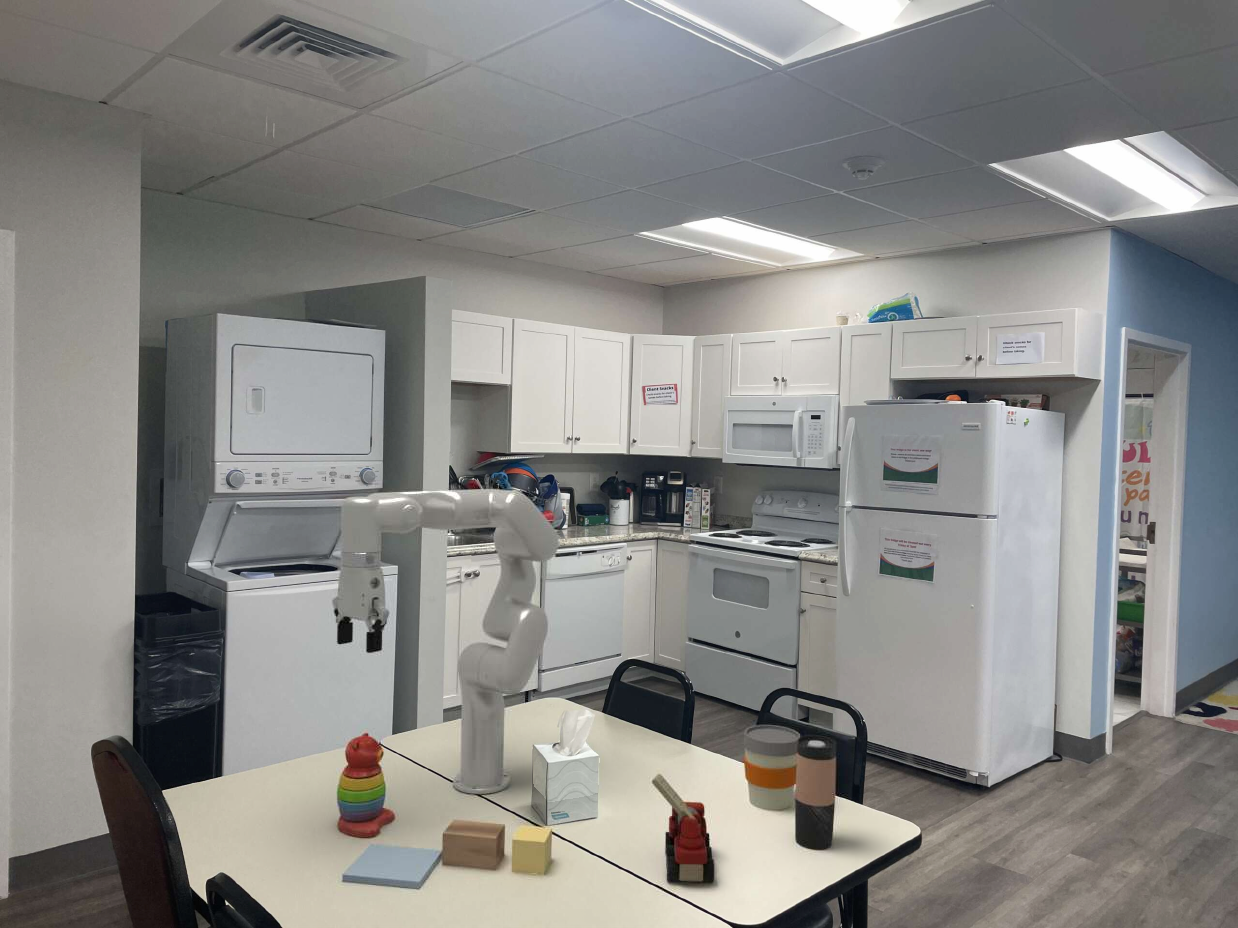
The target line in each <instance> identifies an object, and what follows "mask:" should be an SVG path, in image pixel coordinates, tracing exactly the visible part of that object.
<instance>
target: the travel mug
mask: <svg viewBox="0 0 1238 928" xmlns="http://www.w3.org/2000/svg"><path fill="white" fill-rule="evenodd" d="M836 775H837V742H836V741H835V739H833V738H830V737H827V736H824V735H823V736H822V735H818V734H817V735H815V734H807V735H802V736H800V738H798V742H797V766H796V784H795V792H794V793H795V794H794V797H795V798H794V800H795V802H794V804H795V805H794V809H795V811H794V814H795V815H794V816H795V817H794V819H795V821H794V828H795V829H794V832H795V833H794V835H795V842H796V844H798V845H799V846H800V847H803V848H806V849H809V850H813V851H817V850H818V851H819V850H821V851H823V850H827V849H830V848H831V847H832V845H833V840H834V839H833V837H834V821H835V808H836V807H835V806H836V781H837V780H836V778H837V776H836Z"/></svg>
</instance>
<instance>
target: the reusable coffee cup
mask: <svg viewBox="0 0 1238 928" xmlns="http://www.w3.org/2000/svg"><path fill="white" fill-rule="evenodd" d="M800 737H801V734H800V733H799V732H798V731H796V730H795V729H792V728H790V727H786V726H780V725H774V724H773V725H772V724H758V725H752V726H749V727H747V728H745V730H744V734H743V739H742V740H743V741H742V742H743V743H742V746H743V748H744V753H745V754H744V756H743V764H744V766H743V767H744V774H745V775H744V776H745V777H744V778H745V779H746V781H747V787H748V797H749V803H750V804H751V805H752V806H753V807H756V808H759V809H761V810H767V811H783V810H786V809H789V808H790V807H791V806H792V803H793V802H792V801H793V793H794V788H795V786H796V766H797V742H798V738H800Z"/></svg>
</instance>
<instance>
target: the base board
mask: <svg viewBox="0 0 1238 928" xmlns="http://www.w3.org/2000/svg"><path fill="white" fill-rule="evenodd" d="M441 860H442V849H441V850H440V849H433V848H432V849H430V848H420V847H408V846H399V845H398V846H397V845H389V844H388V845H387V844H377V843H376V844H375V843H370V844H369V845H368V846H367V847H366V848H365V849H364V851H363V852H362V853H361V854H360V855H359V856H358V857H357V858H356V859H355V860H354V861H353V862H352V864H350V866H349V867H348V868H347V869H346V870H345V871H344V872H343V873H342V875H341V876H342V877H341V878H342V879H341V881H342V882H347V883H355V884H356V883H359V884H366V885H367V884H368V885H379V886H385V887H387V886H388V887H396V888H397V887H398V888H408V889H415V890H416V889H418V890H419V889H420V888H421V887H422V885H424V883H425V881H426V880H427V879H428V877H429V876H430V874H431V873H432V872H433V871H434V869H435V868H436V866H437V865H439V863H440V861H441Z"/></svg>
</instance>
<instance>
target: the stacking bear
mask: <svg viewBox="0 0 1238 928" xmlns="http://www.w3.org/2000/svg"><path fill="white" fill-rule="evenodd" d="M344 751H345V752H344V753H345V754H344V755H345V759H346V760H345V761H346V763H347V765H346V766H345V767H344V769H343V771H341V773H340V776H339V780H338V786H337V791H336V803H337V807H338V811H339V815H340V816H339V818H338V821H337V828H338V829H339V830H340V832H342V833H343V834H347V835H349V836H352V837H358V838H362V839H363V838H364V839H365V838H366V839H367V838H373V837H374V838H375V837H376V836H378V835H379V834H380V833H381V830H380V829H381V827H383V826H385V825H387V824H390V823H392V822H393V821H394V820H395V818H396V816H395V812H393V810H391V809H388V808H386V807H385V808H384V804H385V802H386V801H385V799H386V795H387V793H386V791H387V787H386V782H385V777H384V772H383V770H382V769H383V768H382V766H381V764H379V763H380V762H381V761H382V759H383V757H384V754H385V752H384V749H383V747H382V746H381V744H379V742H378V741H377V740H376V738H374V737H373V736H369V732H365V733H363V734H362V735H360V736H357V737H355V738H352V739H351V740H350V741H349V742H348V743H347V745H346V747H345V750H344Z"/></svg>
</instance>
